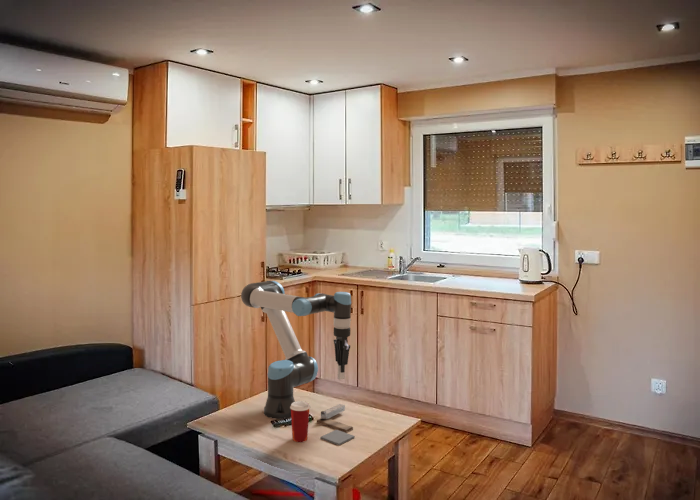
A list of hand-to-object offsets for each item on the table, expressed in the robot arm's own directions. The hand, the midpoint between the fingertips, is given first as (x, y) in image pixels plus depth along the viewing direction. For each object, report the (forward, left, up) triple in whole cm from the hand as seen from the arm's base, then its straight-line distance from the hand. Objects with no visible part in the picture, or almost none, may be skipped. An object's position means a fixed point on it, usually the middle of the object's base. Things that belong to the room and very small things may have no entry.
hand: (341, 378), depth 258 cm
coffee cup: (+2, -28, -19) cm, 34 cm away
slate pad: (+13, -17, -18) cm, 28 cm away
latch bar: (-3, -2, -17) cm, 17 cm away
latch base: (+4, -8, -18) cm, 20 cm away
